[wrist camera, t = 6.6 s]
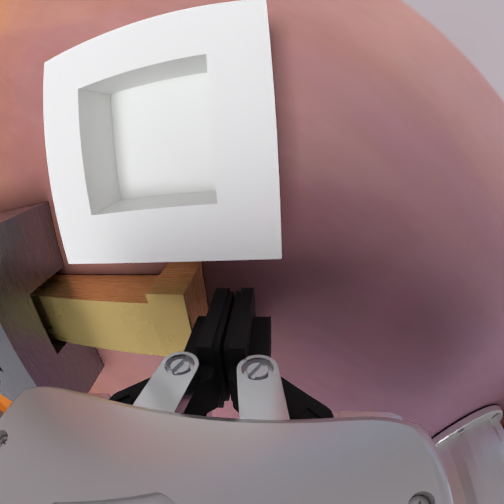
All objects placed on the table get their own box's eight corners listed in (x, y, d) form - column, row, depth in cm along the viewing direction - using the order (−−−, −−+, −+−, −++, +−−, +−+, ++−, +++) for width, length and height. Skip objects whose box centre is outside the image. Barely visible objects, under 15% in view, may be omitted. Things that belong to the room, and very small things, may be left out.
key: (201, 261, 13) (183, 294, 10) (213, 335, 15) (202, 374, 12) (27, 264, 14) (-2, 285, 11) (48, 320, 16) (25, 344, 13)
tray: (267, 29, 9) (266, -2, 6) (279, 230, 12) (281, 258, 10) (82, 70, 10) (44, 62, 7) (101, 239, 13) (68, 263, 10)
